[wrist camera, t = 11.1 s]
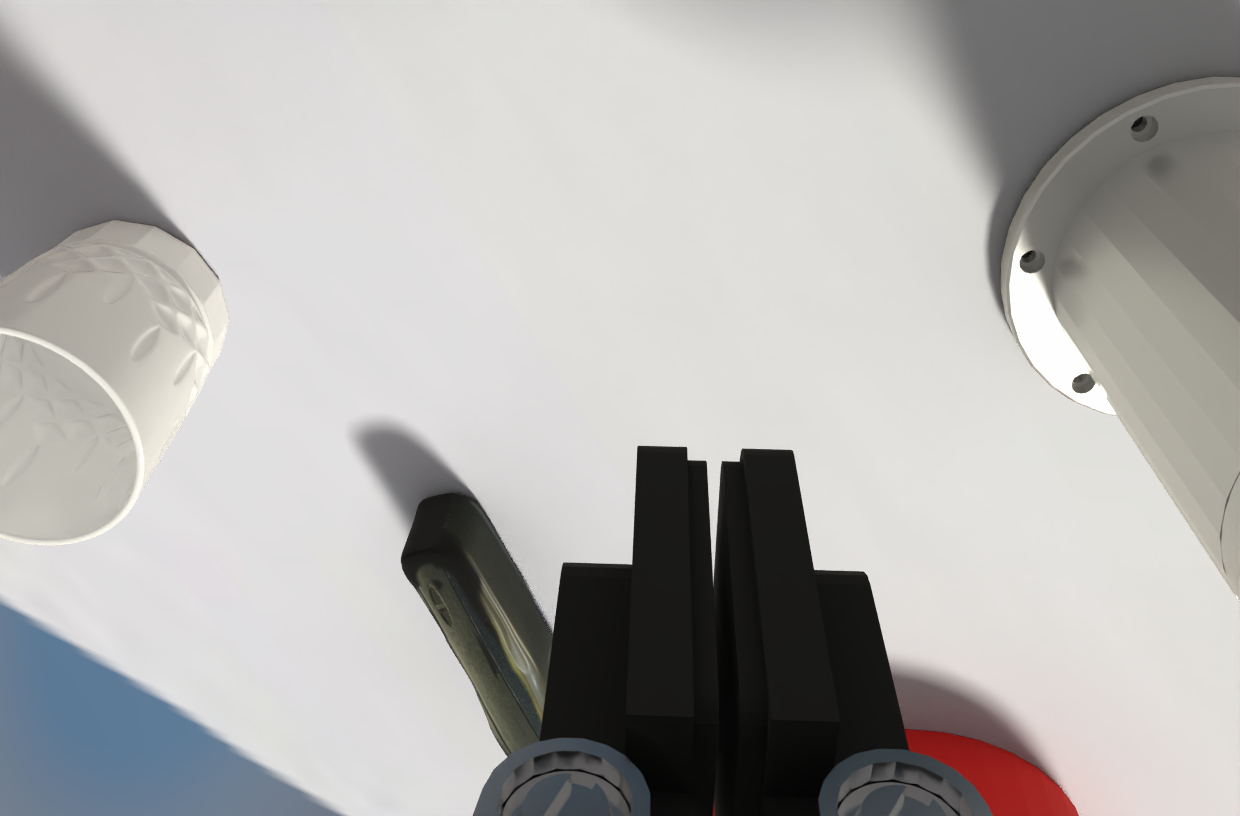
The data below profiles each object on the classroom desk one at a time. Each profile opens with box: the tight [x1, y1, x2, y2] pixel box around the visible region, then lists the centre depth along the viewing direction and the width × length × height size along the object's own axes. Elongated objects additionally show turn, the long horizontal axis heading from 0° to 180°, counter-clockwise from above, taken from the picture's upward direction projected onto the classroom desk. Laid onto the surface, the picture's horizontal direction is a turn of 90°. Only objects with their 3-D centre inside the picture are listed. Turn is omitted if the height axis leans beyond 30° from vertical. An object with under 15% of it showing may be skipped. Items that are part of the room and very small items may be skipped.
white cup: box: [0, 220, 230, 545], centre depth 40 cm, size 8×8×10 cm
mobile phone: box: [401, 493, 553, 757], centre depth 49 cm, size 5×3×15 cm
